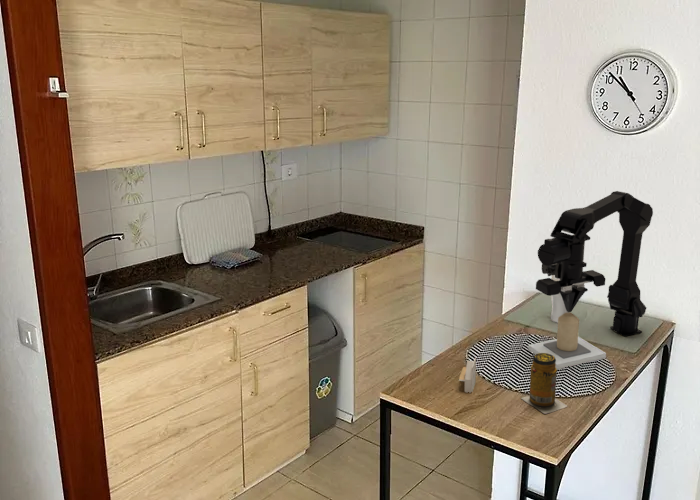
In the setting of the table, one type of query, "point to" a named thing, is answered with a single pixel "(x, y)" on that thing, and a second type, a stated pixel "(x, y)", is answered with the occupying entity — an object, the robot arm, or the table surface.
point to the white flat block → (569, 353)
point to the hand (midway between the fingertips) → (568, 311)
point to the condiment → (543, 384)
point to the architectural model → (469, 375)
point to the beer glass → (557, 305)
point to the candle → (567, 332)
